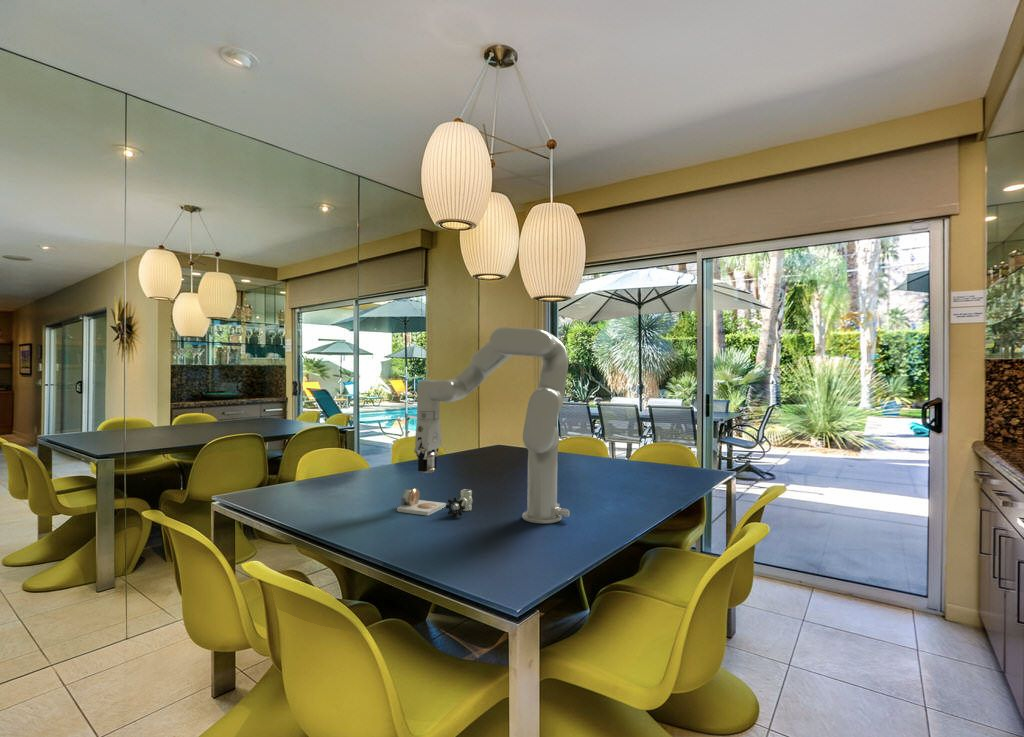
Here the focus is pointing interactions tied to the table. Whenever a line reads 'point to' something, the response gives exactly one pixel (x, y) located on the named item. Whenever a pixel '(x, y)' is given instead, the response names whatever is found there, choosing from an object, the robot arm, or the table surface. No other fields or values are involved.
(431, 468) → the coupling
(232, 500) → the table surface
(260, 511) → the table surface
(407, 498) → the fixed stub
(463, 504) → the valve
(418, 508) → the plate
